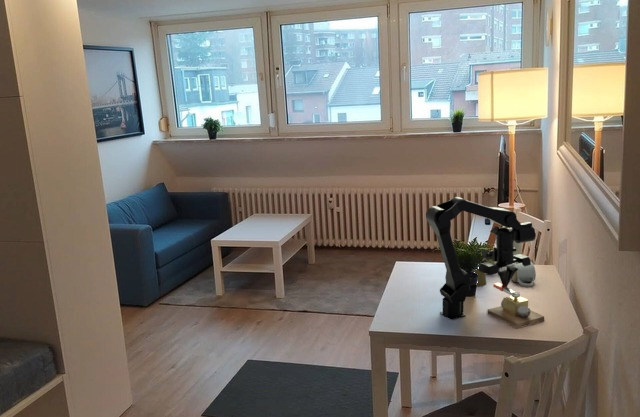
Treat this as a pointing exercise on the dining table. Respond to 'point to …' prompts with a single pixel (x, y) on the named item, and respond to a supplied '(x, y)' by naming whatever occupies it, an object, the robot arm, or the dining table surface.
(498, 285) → the valve lever
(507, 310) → the ball valve
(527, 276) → the ceramic mug
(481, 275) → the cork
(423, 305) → the dining table surface
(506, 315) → the valve board
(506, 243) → the robot arm
